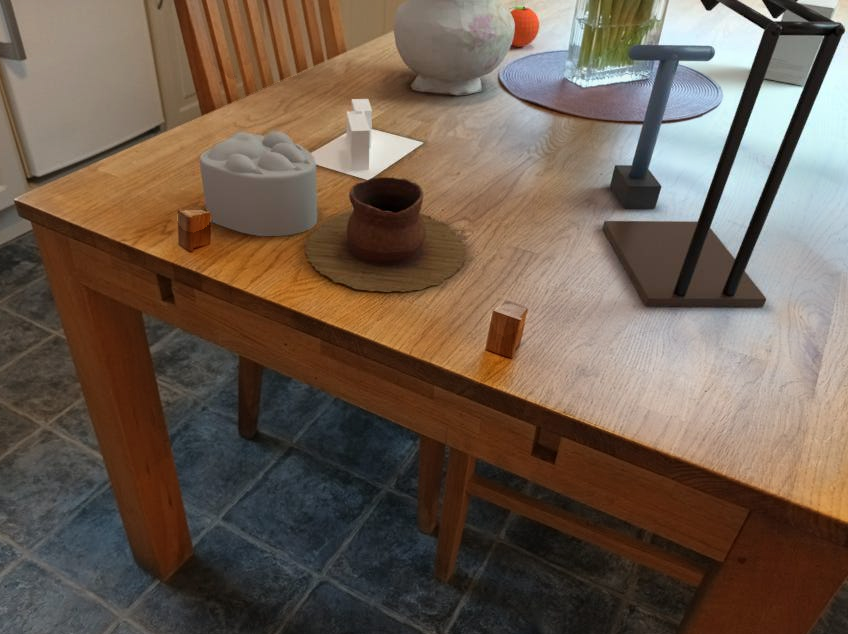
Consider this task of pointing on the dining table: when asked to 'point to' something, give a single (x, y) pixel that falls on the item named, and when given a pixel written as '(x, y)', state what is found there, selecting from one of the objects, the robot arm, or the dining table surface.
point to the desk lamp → (695, 241)
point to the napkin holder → (363, 146)
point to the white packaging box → (798, 47)
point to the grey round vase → (452, 42)
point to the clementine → (524, 26)
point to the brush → (652, 123)
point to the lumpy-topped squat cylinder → (260, 184)
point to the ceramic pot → (386, 241)
